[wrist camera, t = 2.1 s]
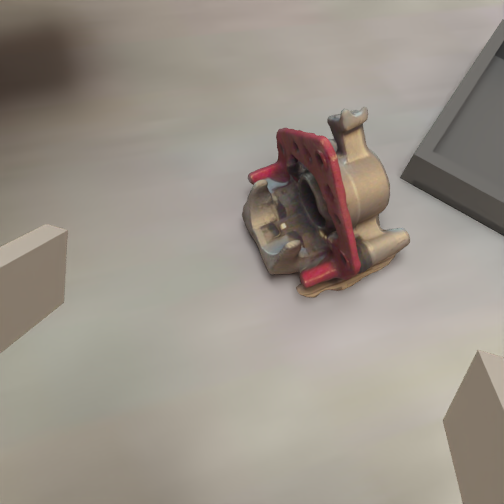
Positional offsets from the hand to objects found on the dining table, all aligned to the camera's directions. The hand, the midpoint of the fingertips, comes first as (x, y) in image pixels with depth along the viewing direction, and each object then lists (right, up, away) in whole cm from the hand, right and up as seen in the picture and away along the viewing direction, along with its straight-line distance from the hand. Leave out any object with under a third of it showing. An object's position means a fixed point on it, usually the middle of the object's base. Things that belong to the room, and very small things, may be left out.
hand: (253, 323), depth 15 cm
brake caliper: (+5, +4, +21) cm, 22 cm away
